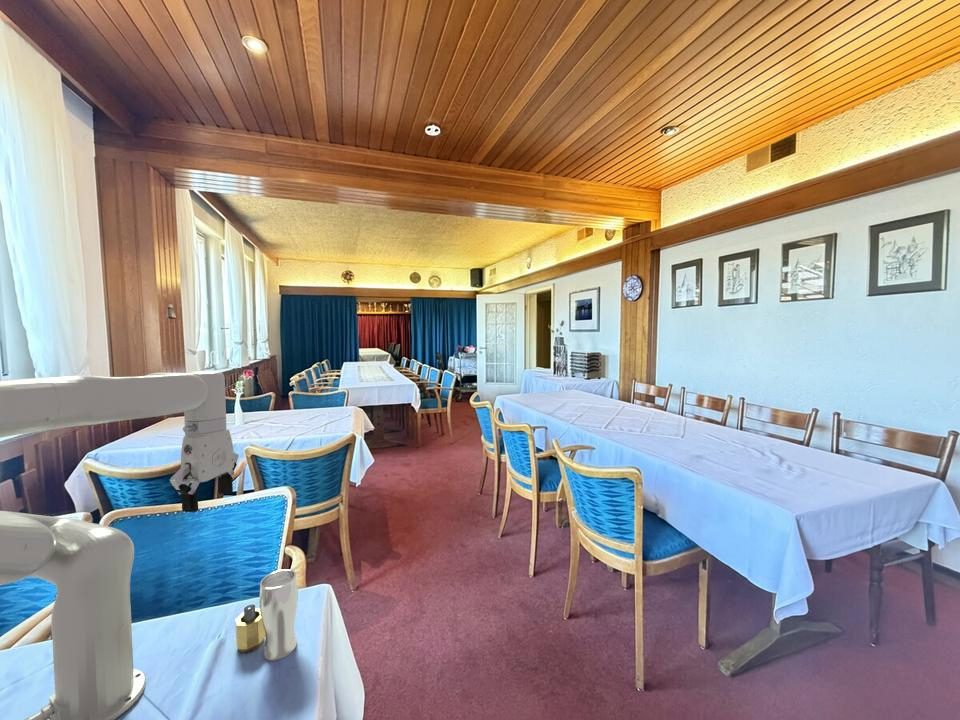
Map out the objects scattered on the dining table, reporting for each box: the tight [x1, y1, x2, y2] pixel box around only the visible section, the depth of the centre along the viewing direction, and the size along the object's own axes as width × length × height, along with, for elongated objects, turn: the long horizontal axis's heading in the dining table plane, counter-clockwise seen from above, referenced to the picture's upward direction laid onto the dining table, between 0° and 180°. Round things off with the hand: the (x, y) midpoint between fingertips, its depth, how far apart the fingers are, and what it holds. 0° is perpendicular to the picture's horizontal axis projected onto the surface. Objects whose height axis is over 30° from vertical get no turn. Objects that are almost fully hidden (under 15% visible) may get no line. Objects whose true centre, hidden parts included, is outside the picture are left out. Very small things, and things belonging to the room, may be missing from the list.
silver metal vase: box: [259, 568, 299, 662], centre depth 78 cm, size 7×7×15 cm
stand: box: [237, 604, 264, 654], centre depth 79 cm, size 5×5×8 cm
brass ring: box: [235, 607, 266, 650], centre depth 79 cm, size 5×5×5 cm
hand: (209, 501), depth 84 cm, fingers open, 9 cm apart
